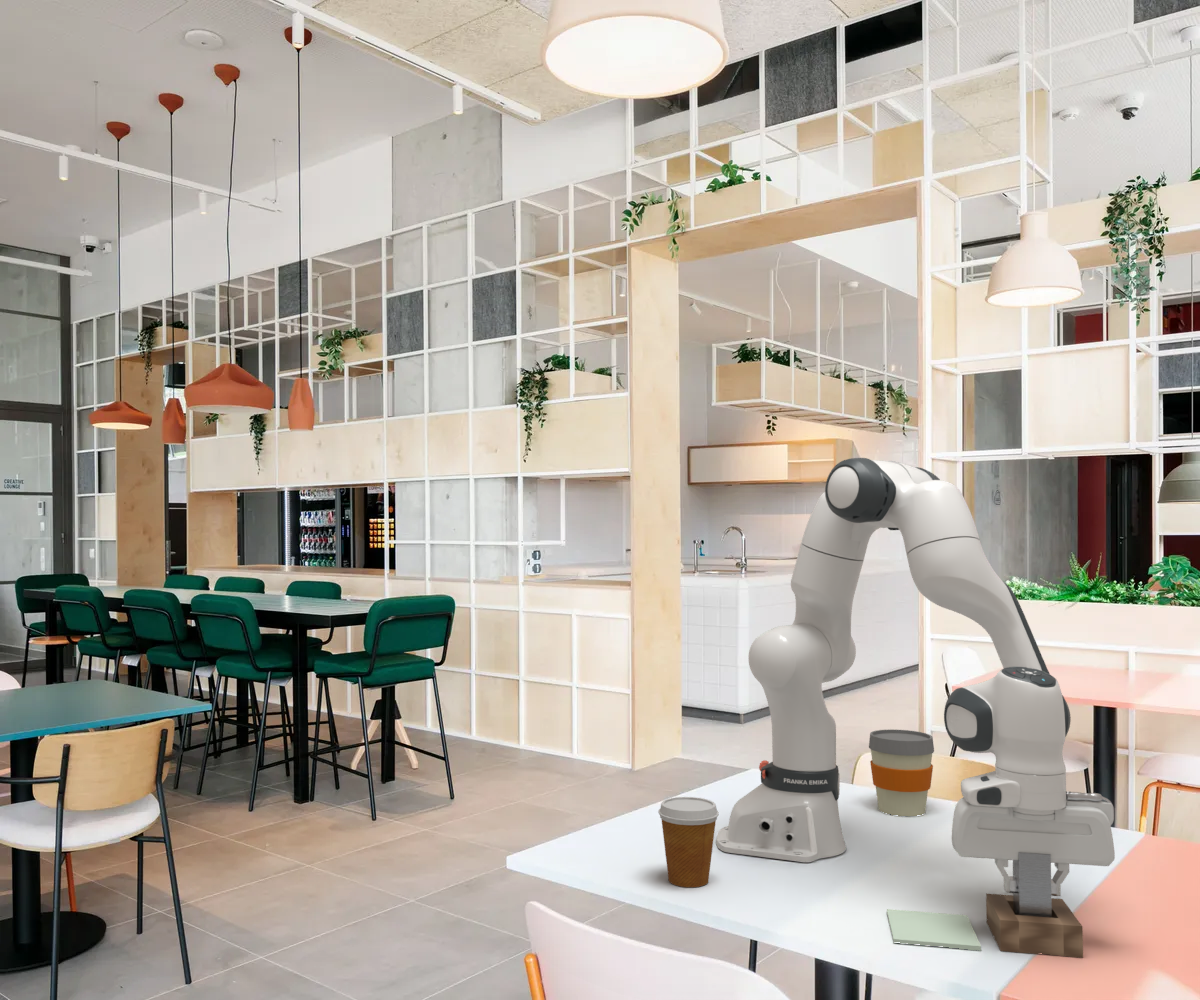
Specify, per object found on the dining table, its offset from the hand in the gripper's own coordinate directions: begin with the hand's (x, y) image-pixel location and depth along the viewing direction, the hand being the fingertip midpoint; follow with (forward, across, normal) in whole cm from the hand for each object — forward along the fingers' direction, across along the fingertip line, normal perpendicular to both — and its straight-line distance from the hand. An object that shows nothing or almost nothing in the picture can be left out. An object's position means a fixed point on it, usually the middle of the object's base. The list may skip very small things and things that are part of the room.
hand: (1031, 893), depth 133 cm
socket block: (+6, 0, 0) cm, 6 cm away
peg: (+6, 0, 0) cm, 6 cm away
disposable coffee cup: (+6, +48, -13) cm, 50 cm away
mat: (+6, +13, 0) cm, 14 cm away
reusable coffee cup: (+6, +11, -63) cm, 64 cm away
